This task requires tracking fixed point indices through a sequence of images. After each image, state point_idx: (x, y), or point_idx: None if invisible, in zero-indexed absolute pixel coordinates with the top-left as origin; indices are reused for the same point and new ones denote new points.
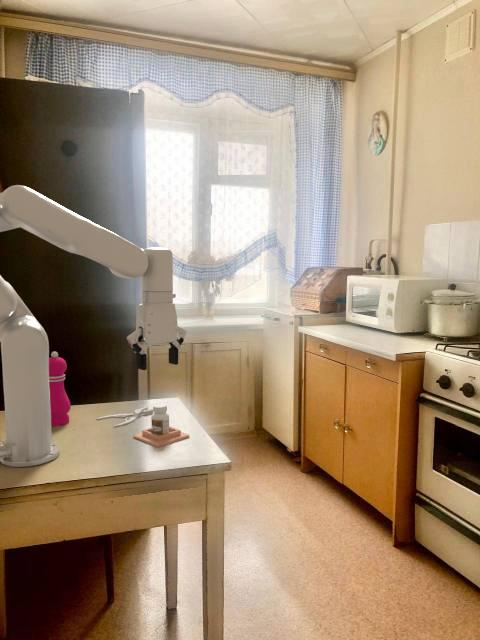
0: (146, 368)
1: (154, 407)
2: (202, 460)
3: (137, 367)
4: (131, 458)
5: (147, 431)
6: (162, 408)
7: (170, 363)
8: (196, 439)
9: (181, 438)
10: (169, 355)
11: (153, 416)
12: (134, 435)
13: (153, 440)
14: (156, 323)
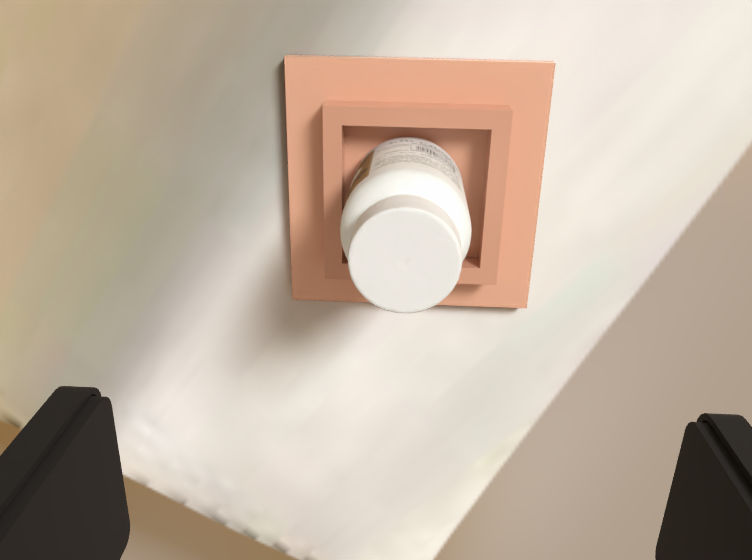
0: (121, 545)
1: (348, 257)
2: (345, 535)
3: (61, 393)
4: (112, 312)
5: (335, 150)
6: (387, 307)
7: (692, 438)
8: (523, 352)
9: (464, 303)
10: (740, 530)
11: (343, 232)
12: (285, 66)
13: (317, 231)
14: None
